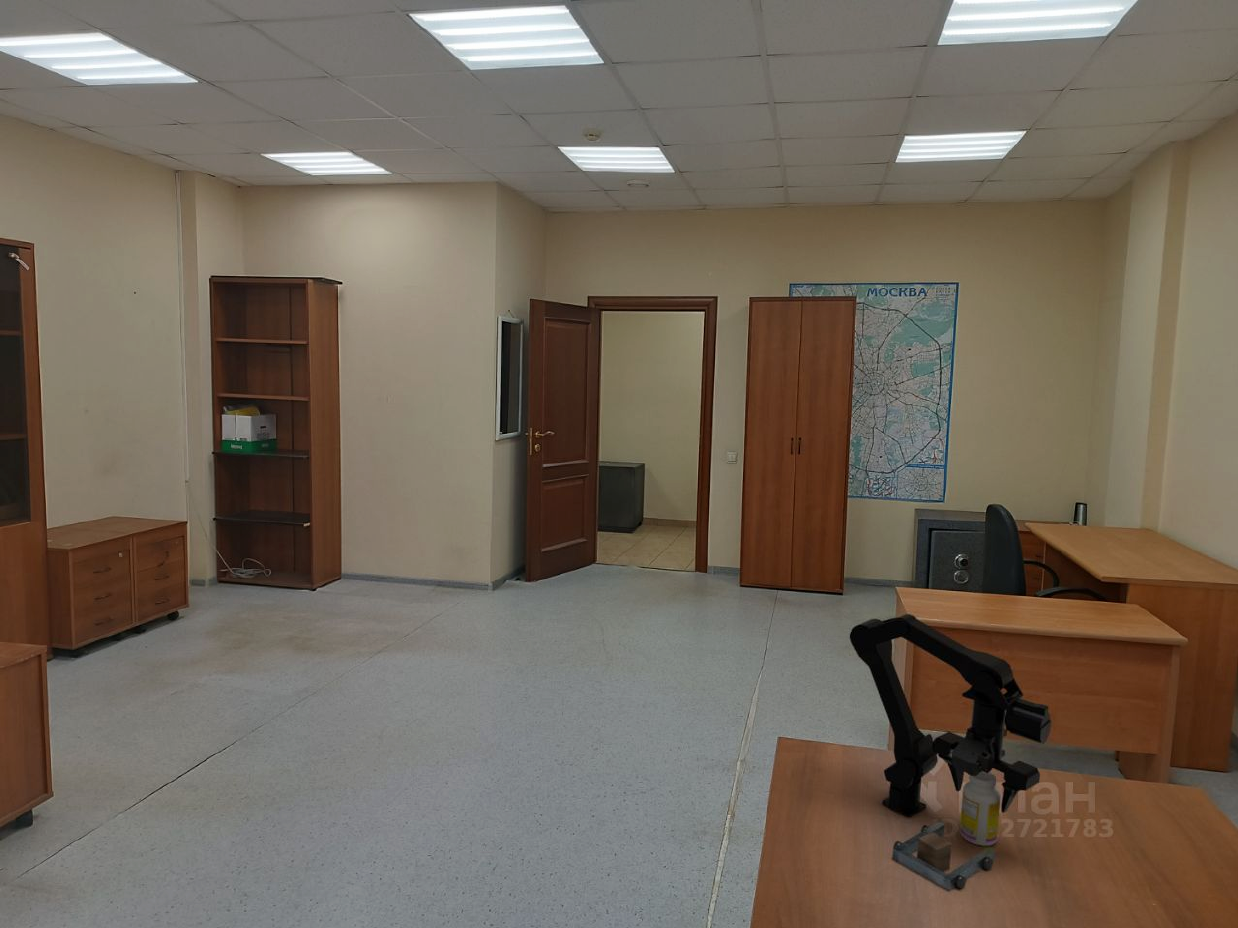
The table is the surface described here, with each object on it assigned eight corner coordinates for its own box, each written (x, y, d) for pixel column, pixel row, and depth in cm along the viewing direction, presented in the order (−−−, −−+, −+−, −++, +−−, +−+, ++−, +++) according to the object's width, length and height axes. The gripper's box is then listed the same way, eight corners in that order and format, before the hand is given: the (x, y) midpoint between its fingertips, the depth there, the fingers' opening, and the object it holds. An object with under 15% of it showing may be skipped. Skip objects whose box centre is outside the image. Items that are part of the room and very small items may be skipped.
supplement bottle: (995, 831, 163) (1000, 770, 161) (998, 850, 157) (1004, 786, 155) (958, 824, 165) (963, 763, 163) (960, 842, 159) (965, 780, 157)
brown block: (916, 863, 152) (918, 838, 152) (931, 856, 154) (933, 832, 154) (934, 875, 149) (936, 849, 148) (949, 868, 151) (951, 843, 150)
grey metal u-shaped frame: (933, 828, 164) (934, 818, 163) (999, 862, 153) (1000, 852, 153) (887, 855, 154) (888, 845, 154) (954, 893, 144) (955, 883, 144)
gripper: (919, 717, 160) (913, 792, 162) (1014, 756, 146) (1006, 838, 148) (951, 703, 167) (944, 775, 169) (1045, 739, 152) (1036, 818, 155)
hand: (980, 800), depth 160 cm, fingers open, 9 cm apart
